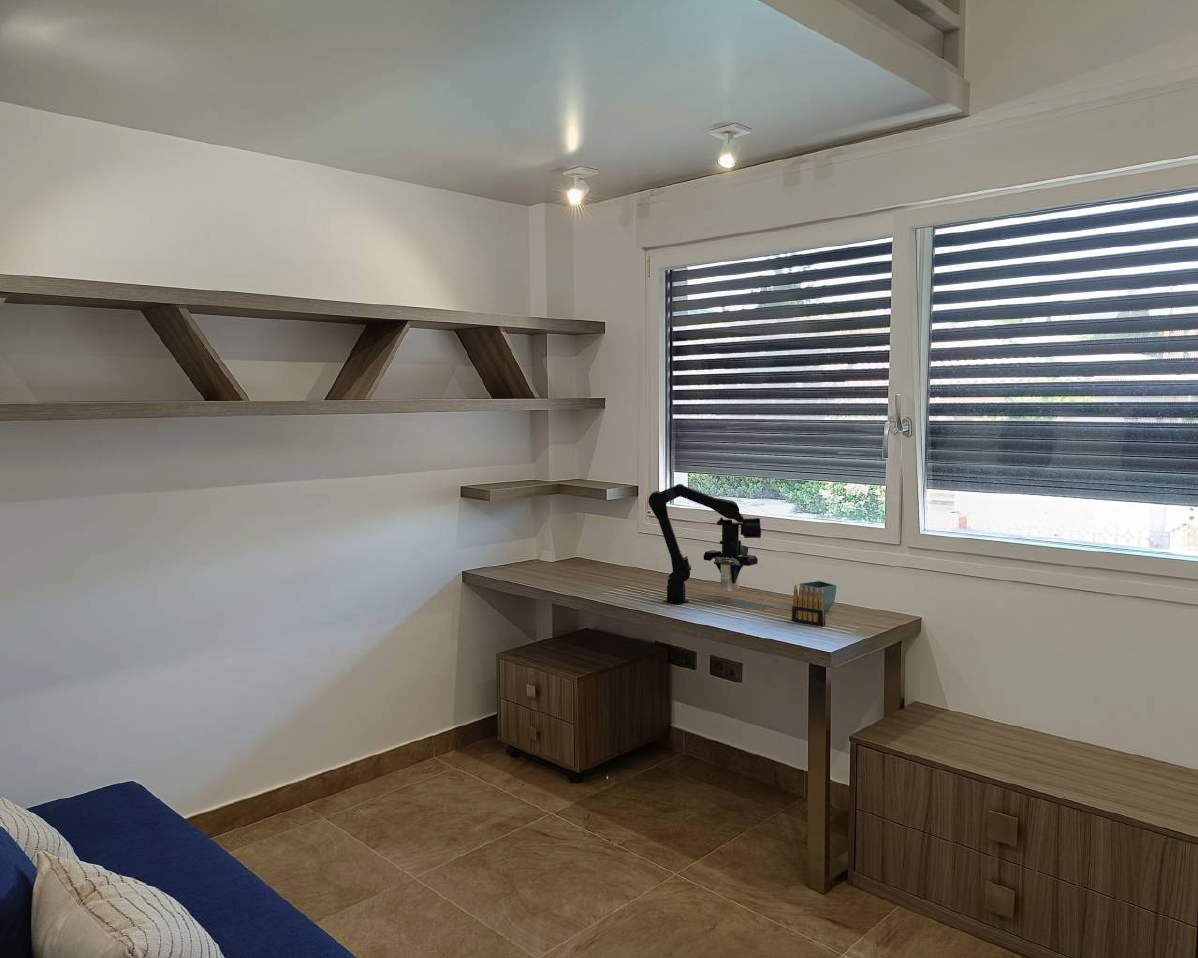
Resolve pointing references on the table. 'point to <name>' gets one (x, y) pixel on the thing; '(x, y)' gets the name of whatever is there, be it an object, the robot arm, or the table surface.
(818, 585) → the flower pot
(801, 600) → the ammunition clip
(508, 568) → the table surface
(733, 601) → the mat
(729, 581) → the slab
